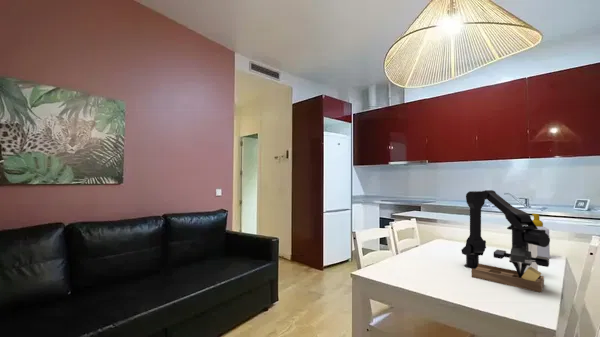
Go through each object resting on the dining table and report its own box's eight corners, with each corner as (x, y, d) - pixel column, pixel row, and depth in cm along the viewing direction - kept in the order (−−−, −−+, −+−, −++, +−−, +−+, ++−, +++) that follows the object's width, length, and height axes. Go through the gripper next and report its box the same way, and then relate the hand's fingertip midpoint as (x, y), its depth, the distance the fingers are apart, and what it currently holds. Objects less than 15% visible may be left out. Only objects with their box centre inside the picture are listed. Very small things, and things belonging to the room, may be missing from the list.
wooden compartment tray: (478, 271, 141) (478, 263, 141) (544, 284, 124) (543, 276, 124) (471, 277, 133) (471, 268, 133) (541, 292, 115) (541, 283, 115)
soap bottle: (541, 254, 171) (540, 213, 172) (550, 259, 163) (550, 215, 163) (524, 253, 173) (523, 213, 174) (532, 258, 165) (532, 214, 165)
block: (524, 275, 123) (530, 266, 122) (534, 282, 120) (541, 273, 119) (521, 277, 121) (528, 268, 119) (532, 284, 118) (539, 275, 116)
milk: (537, 274, 137) (537, 229, 137) (532, 276, 134) (531, 230, 134) (523, 271, 142) (522, 227, 142) (517, 272, 139) (516, 228, 139)
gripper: (490, 240, 124) (490, 276, 123) (546, 248, 111) (547, 288, 110) (495, 237, 132) (496, 270, 131) (549, 244, 119) (549, 281, 118)
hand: (520, 277), depth 123 cm, fingers closed
